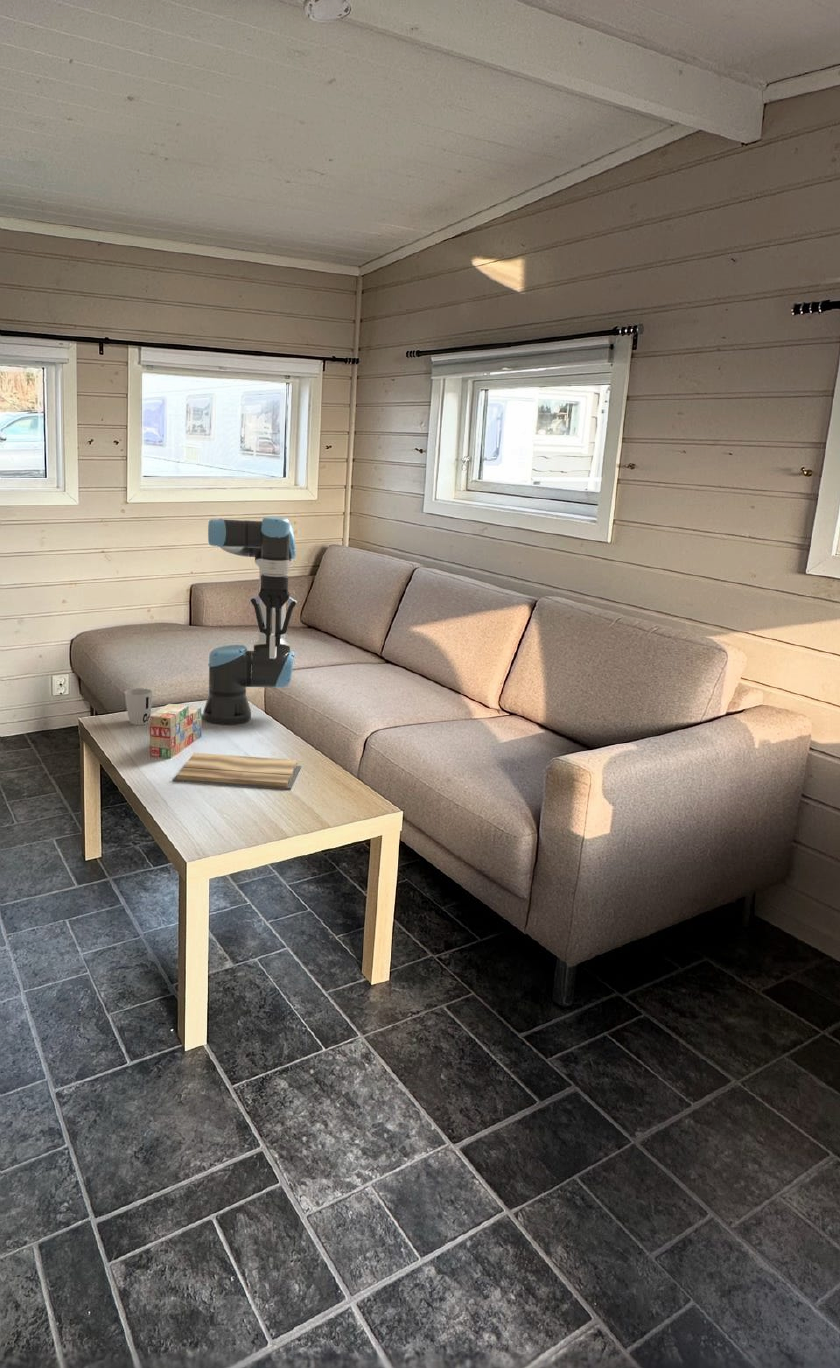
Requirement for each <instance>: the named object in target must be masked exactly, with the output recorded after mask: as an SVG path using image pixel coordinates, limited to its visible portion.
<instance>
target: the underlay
mask: <svg viewBox="0 0 840 1368" xmlns="http://www.w3.org/2000/svg"><path fill="white" fill-rule="evenodd" d="M184 766H185V764H184ZM184 766H182V768H184ZM182 768H181V769H180V770H179V772H180V771H181V770H182ZM301 769H302V766H301V765H297V766H296V768H295V771H294V773H293V775H292V778H291V780H290V782H289V784H288V786H287V787H280V786H265V785H251V784H237V783H223V782H209V781H195V780H181V779H177V774H176V775H175V776H174V777H173V779H172V782H177V783H187V784H189V783H192V784H201V785H203V784H205V785H218V786H231V787H232V786H234V787H235V786H236V787H246V788H258V789H259V788H260V789H261V788H262V789H275V790H287V791H291V789H292V787H293V785H294V783H295V781H296V779H297V777H298V774H299V772H300V770H301ZM179 772H178V773H179Z"/></svg>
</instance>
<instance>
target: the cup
mask: <svg viewBox="0 0 840 1368" xmlns="http://www.w3.org/2000/svg"><path fill="white" fill-rule="evenodd" d="M124 695H125V696H124V697H125V706H126V712H127V717H128V720H129V721H130V724H131V725H134V726H143V725H147V724H149V721H150V715H151V713H152V712H151V710H152V705H153V690H152V689H149V688H141V687H139V688H138V687H136V688H129V689H127V690H124Z"/></svg>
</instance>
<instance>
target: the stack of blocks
mask: <svg viewBox="0 0 840 1368" xmlns="http://www.w3.org/2000/svg"><path fill="white" fill-rule="evenodd" d="M200 737H202V707H200V706H190V705H184V704H175V703H174V704H173V703H168V704H166V705H165V706H163V707H162V708H160V709H158V710H157V711H155V712H154V713H153V712H152V714H151V713H150V717H149V738H150V739H149V744H150V745H149V750H150V751H149V752H150V754H149V755H150V757H154V758H164V759H172V758H174V757H175V756H177V755H178V754H180V753H181V752H182V751H184V750H185V749H186V748H187V747H189V746H190V745H191V744H192V743H194V742H195V741H197V740H198V739H200Z"/></svg>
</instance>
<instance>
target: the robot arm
mask: <svg viewBox="0 0 840 1368" xmlns="http://www.w3.org/2000/svg"><path fill="white" fill-rule="evenodd" d="M207 526H208V528H207V529H208V530H207V534H208V535H207V540H208V544H209V546H213V547H218V548H220V549H221V550H223V551H224V552H226V553H229V554H232V555H235V556H240V557H246V558H248V557H249V558H254V564H255V565H256V566H257V567H258V569H259V577H258V578H259V580H258V581H259V582H258V595H256V596H255V597H252V598H251V599H250V603H251V605H252V606H253V607H254V613H255V617H256V620H257V621H256V622H257V626H258V640H257V641H256V642H255V643H254V644H253V650H248V648H247V646H245V645H243V644H242V645H241V644H230V645H228V644H227V645H223V646H218V647H216V648H214V649H212V650H211V651H210V652H209V657H208V658H209V659H208V668H209V669H208V696H207V699H206V702H205V705H204V709H203V714H202V716H203V717H202V718H203V720H204V721H206V722H208V723H212V724H217V725H238V724H244V723H246V722H249V721H250V720H251V719H252V709H251V707H250V706H251V705H250V703H249V700H248V696H247V688H273V689H277V688H287V687H288V686H290V684H291V681H292V675H293V668H294V663H295V662H294V661H295V652H294V651H292V650H291V646H290V644H289V643H288V642H287V641H286V633H287V632H288V631H289V630H288V629H289V626H290V624H291V623H290V622H291V619H292V615H293V611H294V608H295V607H296V605H297V604H298V600H296V599H294V598H292V597H291V594H290V592H289V576H288V574H289V566H290V565H291V564H292V560H293V559H294V560H295V558H296V543H295V535H294V531H293V526H292V525H291V524H290V521H289V519H288V518H285V517H280V516H279V517H278V516H267V517H266V516H265V517H263V518H262V520H246V519H245V520H239V519H225V518H218V519H217V518H215V519H214V518H212V519H210V520H209V521H208V525H207ZM286 605H287V606H288V607H287V606H286ZM286 608H287V610H286Z"/></svg>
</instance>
